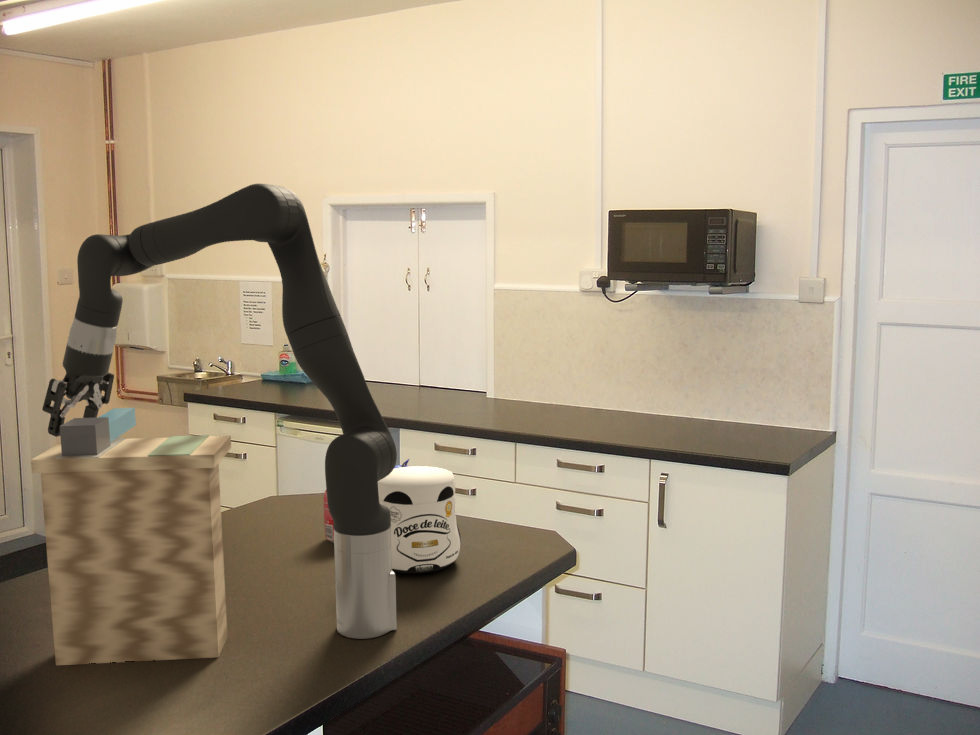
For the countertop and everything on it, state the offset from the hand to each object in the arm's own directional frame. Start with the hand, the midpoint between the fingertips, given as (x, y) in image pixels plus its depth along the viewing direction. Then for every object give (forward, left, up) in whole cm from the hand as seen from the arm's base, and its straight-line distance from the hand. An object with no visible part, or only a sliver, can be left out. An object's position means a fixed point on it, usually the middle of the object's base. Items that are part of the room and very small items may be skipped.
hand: (71, 430), depth 159 cm
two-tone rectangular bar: (-7, +21, +2) cm, 22 cm away
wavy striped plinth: (-11, +28, -30) cm, 43 cm away
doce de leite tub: (-61, +10, -30) cm, 69 cm away
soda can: (-50, -10, -30) cm, 59 cm away
